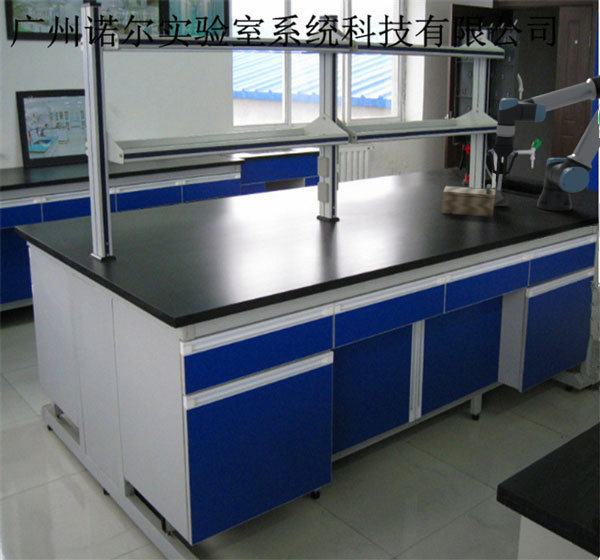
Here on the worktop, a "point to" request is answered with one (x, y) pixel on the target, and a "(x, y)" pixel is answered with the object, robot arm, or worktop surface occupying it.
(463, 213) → the box
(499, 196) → the stone
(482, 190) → the cover plate
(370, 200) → the worktop surface
